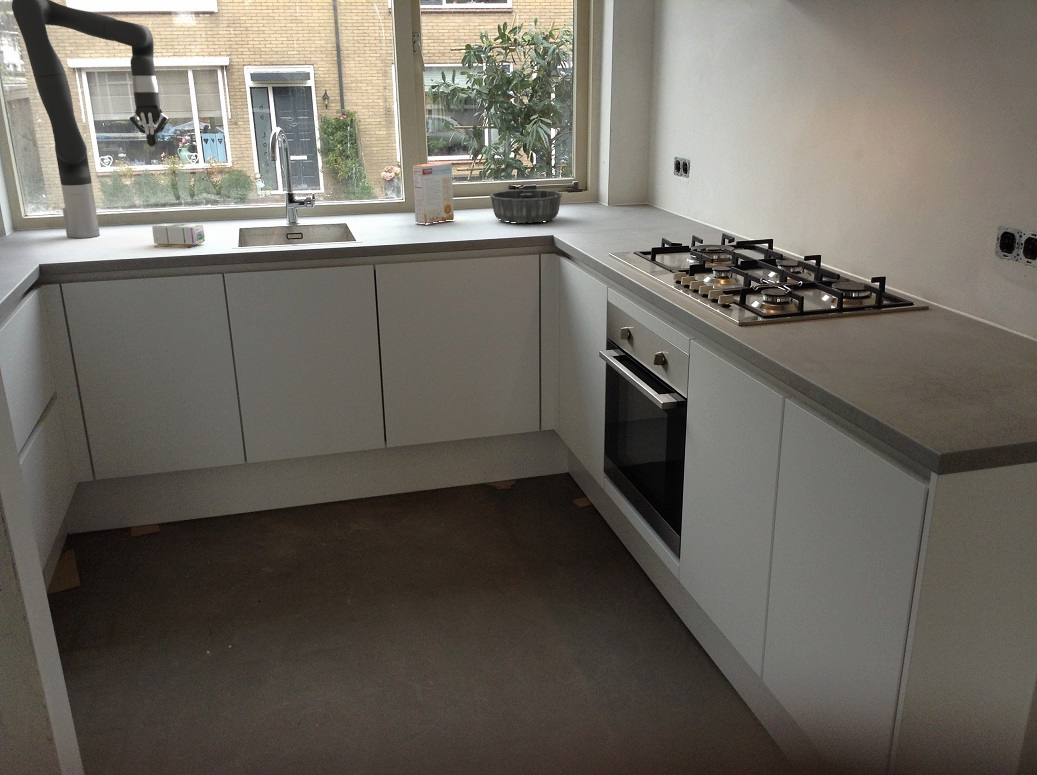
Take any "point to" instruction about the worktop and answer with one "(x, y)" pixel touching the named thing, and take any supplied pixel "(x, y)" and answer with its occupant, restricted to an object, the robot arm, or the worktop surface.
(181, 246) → the wooden slatted trivet
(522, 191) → the bundt pan
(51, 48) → the robot arm
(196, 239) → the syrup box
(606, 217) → the worktop surface
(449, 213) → the cracker box
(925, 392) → the worktop surface
